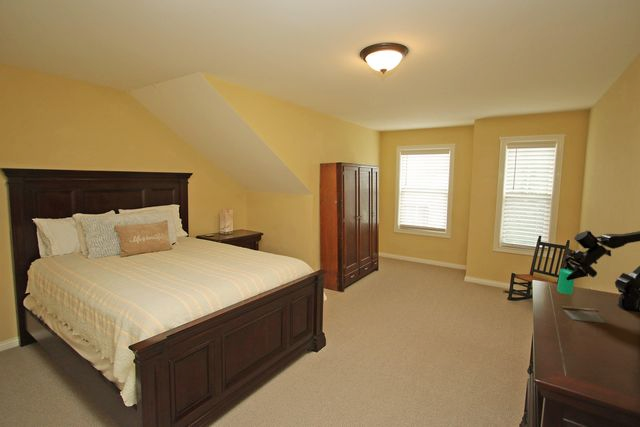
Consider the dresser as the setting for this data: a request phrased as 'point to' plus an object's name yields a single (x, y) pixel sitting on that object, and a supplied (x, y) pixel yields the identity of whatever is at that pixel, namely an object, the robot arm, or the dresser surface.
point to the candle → (565, 282)
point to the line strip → (579, 308)
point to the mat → (584, 316)
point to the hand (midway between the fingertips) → (563, 277)
